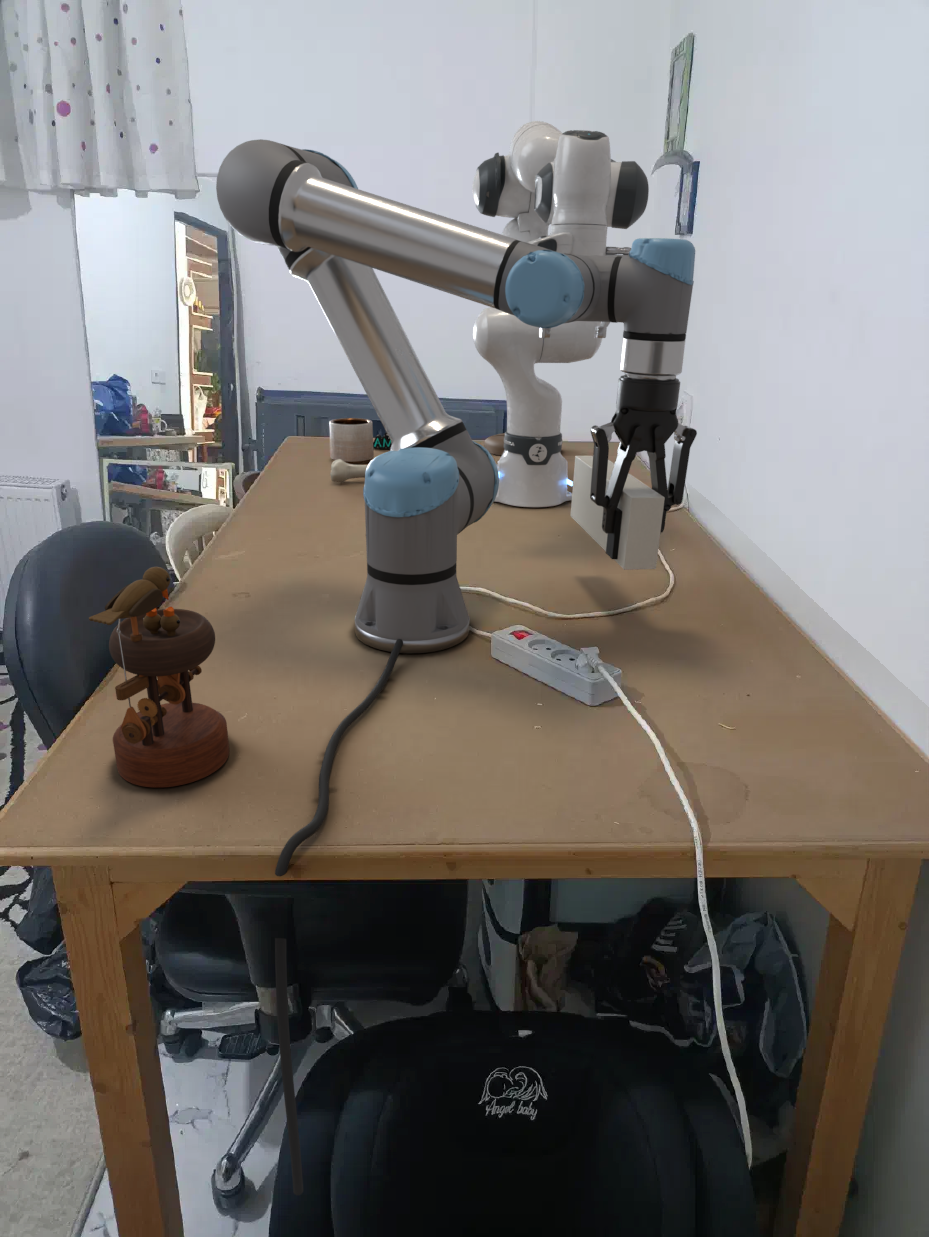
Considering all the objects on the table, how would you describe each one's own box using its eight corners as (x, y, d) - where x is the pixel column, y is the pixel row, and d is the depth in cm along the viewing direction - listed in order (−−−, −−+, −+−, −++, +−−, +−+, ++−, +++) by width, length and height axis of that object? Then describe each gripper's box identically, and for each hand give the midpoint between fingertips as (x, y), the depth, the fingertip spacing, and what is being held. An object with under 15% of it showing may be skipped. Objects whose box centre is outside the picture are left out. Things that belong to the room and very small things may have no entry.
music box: (204, 802, 76) (158, 593, 68) (89, 801, 77) (32, 596, 70) (260, 719, 90) (227, 538, 82) (162, 719, 91) (122, 542, 84)
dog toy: (417, 477, 197) (417, 456, 195) (420, 483, 191) (420, 461, 189) (330, 479, 194) (329, 457, 192) (330, 485, 188) (329, 463, 186)
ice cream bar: (489, 466, 209) (490, 449, 208) (482, 444, 235) (482, 429, 234) (574, 466, 210) (575, 449, 209) (557, 445, 236) (558, 430, 234)
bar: (656, 569, 110) (665, 497, 106) (623, 569, 109) (631, 497, 106) (597, 516, 133) (602, 455, 129) (570, 516, 132) (575, 455, 129)
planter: (327, 456, 217) (325, 418, 214) (369, 454, 220) (368, 417, 217) (334, 465, 208) (332, 425, 204) (377, 463, 211) (376, 424, 207)
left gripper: (703, 372, 109) (680, 545, 118) (573, 371, 106) (559, 548, 115) (729, 380, 102) (703, 563, 111) (590, 378, 99) (574, 566, 108)
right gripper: (634, 247, 138) (626, 336, 144) (511, 245, 135) (508, 336, 140) (647, 247, 133) (639, 339, 138) (520, 244, 129) (516, 339, 135)
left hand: (629, 555), depth 113 cm, fingers closed on bar, 4 cm apart
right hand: (572, 337), depth 139 cm, fingers open, 8 cm apart
